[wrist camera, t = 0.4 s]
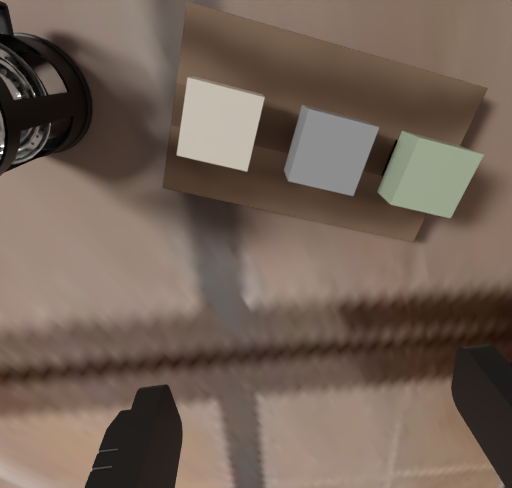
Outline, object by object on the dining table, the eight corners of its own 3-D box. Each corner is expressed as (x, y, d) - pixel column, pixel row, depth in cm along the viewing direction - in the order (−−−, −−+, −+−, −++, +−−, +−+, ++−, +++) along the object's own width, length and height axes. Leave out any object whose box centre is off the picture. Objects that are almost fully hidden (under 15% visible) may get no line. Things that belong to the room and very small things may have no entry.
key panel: (192, 7, 28) (187, 1, 25) (466, 86, 31) (488, 88, 28) (169, 178, 34) (162, 187, 31) (400, 229, 37) (413, 242, 34)
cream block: (198, 75, 27) (187, 77, 22) (260, 91, 28) (264, 97, 23) (188, 140, 29) (176, 155, 24) (246, 154, 30) (247, 171, 25)
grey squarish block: (297, 101, 28) (308, 108, 23) (355, 116, 29) (379, 127, 24) (280, 162, 30) (288, 181, 25) (335, 175, 31) (353, 196, 26)
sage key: (389, 125, 29) (419, 137, 24) (443, 139, 30) (483, 154, 25) (366, 182, 32) (390, 204, 26) (417, 194, 32) (450, 218, 27)
